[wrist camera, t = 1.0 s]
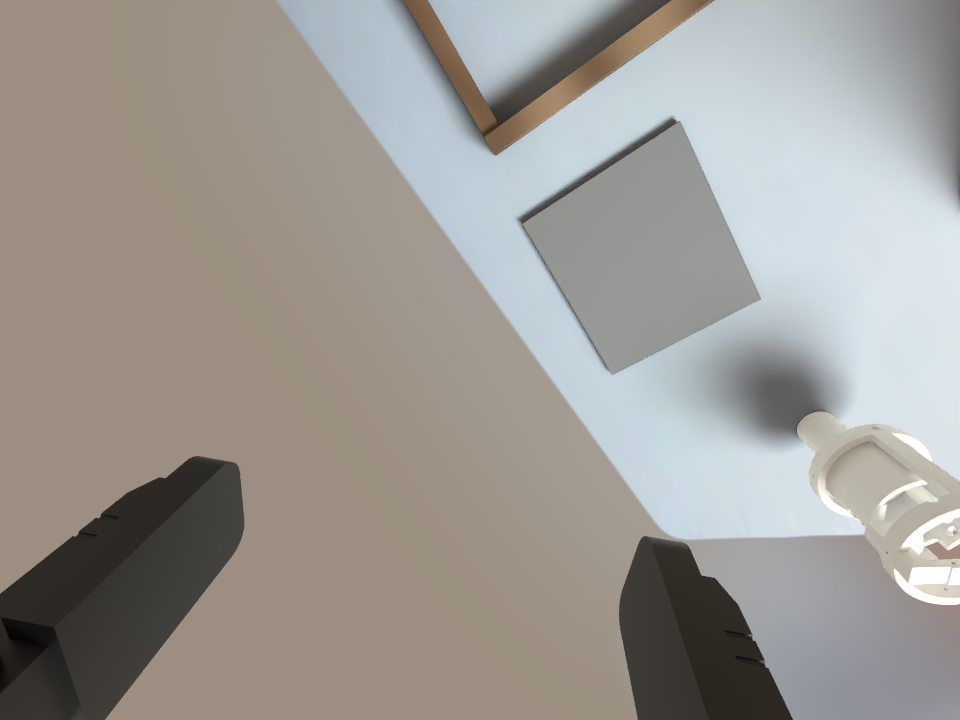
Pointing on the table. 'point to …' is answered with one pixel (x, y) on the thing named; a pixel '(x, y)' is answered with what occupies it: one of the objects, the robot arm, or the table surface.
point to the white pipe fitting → (890, 499)
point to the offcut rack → (581, 80)
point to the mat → (644, 252)
